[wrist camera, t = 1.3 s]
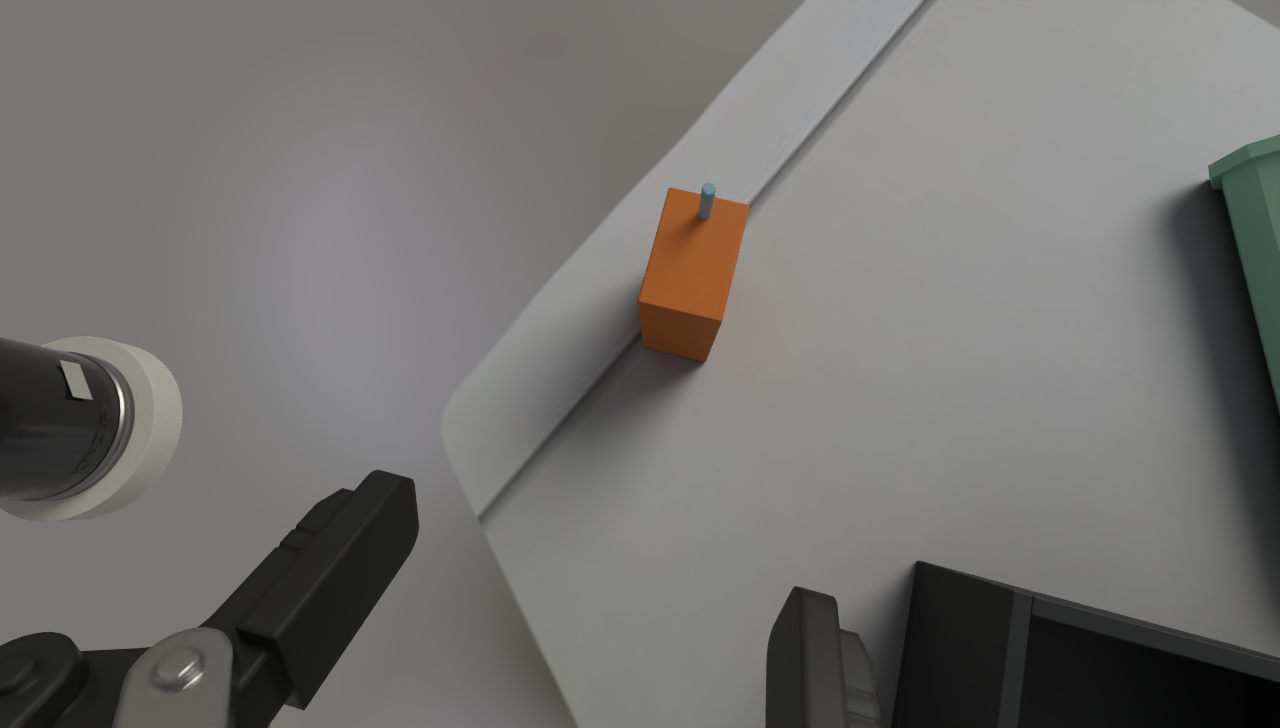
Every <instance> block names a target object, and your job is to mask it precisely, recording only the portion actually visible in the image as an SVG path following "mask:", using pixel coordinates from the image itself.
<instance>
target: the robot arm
mask: <svg viewBox="0 0 1280 728" xmlns="http://www.w3.org/2000/svg"><path fill="white" fill-rule="evenodd" d="M134 418H135V406H134V399H133V394H132V391H131V388H130V386H129V384H128V382H127V380H126V379H125V377H124V376H123V375H122V373H121V372H120V371H119V370H118V369H117V368H116V367H114V366H113V365H112V364H110V363H108V362H107V361H105V360H103V359H100V358H97V357H94V356H90V355H85V354H80V353H76V352H64V351H59V350H54V349H50V348H45V347H41V346H36V345H32V344H28V343H23V342H18V341H14V340H9V339H4V338H0V501H5V500H22V501H52V500H60V499H65V498H68V497H72V496H74V495H77V494H79V493H81V492H83V491H85V490H87V489H89V488H90V487H92V486H93V485H95V484H96V483H97V482H99V481H100V480H101V479H102V478H103V477H105V476H106V475H107V474H108V473H109V472H110V471H111V469H112V468H113V467H114V466H115V465H116V463H117V462H118V460H119V459H120V458H121V456H122V454H123V453H124V451H125V449H126V447H127V445H128V442H129V440H130V437H131V434H132V430H133V425H134ZM418 531H419V521H418V511H417V503H416V493H415V484H414V481H413V480H412V479H410V478H407V477H403V476H399V475H396V474H392V473H389V472H385V471H381V470H375V471H373V472H371V473H370V474H369V475H368V476H367V477H366V478H365V479H364V480H363V481H362V483H361V484H360V485H359V486H358V487H357V488H356V489H355V491H351V490H348V489H344V488H342V489H340V490H339V491H337V492H335V493H334V494H332V495H330V496H329V497H327V498H325V499H324V500H322V501H320V502H319V503H317V504H316V505H315V506H314V507H313V508H312V509H311V510H310V511H309V512H308V513H307V514H306V515H305V517H304V518H303V519H302V520H301V521H300V522H299V523H298V524H297V525H296V528H295V529H294V530H292V531H290V533H289V534H288V535H287V536H286V537H285V538H284V539H283V540H282V541H281V542H280V545H279V547H278V548H277V547H276V548H275V549H274V550H273V551H272V552H271V553H270V554H269V555H268V556H267V557H266V558H265V559H264V560H263V561H262V563H261V564H260V565H259V566H258V567H257V568H256V569H255V570H254V571H253V572H252V573H251V574H250V575H249V577H248V578H247V579H246V580H245V581H244V582H243V583H242V584H241V585H240V586H239V587H238V588H237V589H236V591H235V592H234V593H233V594H232V595H231V596H230V597H229V598H228V599H227V600H226V601H225V602H224V603H223V604H222V605H221V606H220V608H219V609H218V610H217V611H216V612H215V613H214V614H213V615H212V616H211V617H210V618H209V619H208V620H206V621H205V622H204V623H202V624H201V625H200V626H199V627H197V628H192V629H188V630H184V631H181V632H178V633H175V634H173V635H171V636H168V637H167V638H165V639H163V640H161V641H159V642H158V643H156V644H155V645H154V646H152V647H147V648H135V649H117V650H97V651H80V650H79V649H78V647H77V646H76V645H75V644H74V642H73V641H72V640H71V639H70V638H69V637H67V636H66V635H63V634H60V633H54V632H42V633H35V634H31V635H27V636H23V637H20V638H17V639H15V640H12V641H10V642H7V643H5V644H3V645H1V646H0V728H270V723H271V722H272V720H273V719H274V717H275V716H276V714H277V713H278V712H279V710H280V709H281V707H282V706H283V705H284V704H286V705H289V706H292V707H295V708H298V709H301V710H305V708H306V707H307V706H308V704H309V702H310V701H311V700H312V698H313V697H314V695H315V694H316V692H317V691H318V689H319V688H320V686H321V684H322V683H323V682H324V680H325V679H326V677H327V676H328V674H329V673H330V671H331V670H332V669H333V667H334V665H335V664H336V663H337V661H338V660H339V658H340V657H341V655H342V654H343V652H344V651H345V649H346V648H347V646H348V645H349V643H350V642H351V640H352V639H353V637H354V636H355V634H356V633H357V631H358V630H359V628H360V627H361V626H362V624H363V623H364V621H365V620H366V618H367V617H368V615H369V614H370V612H371V610H372V609H373V608H374V606H375V605H376V603H377V602H378V600H379V599H380V597H381V596H382V594H383V593H384V591H385V590H386V588H387V587H388V586H389V584H390V583H391V581H392V580H393V578H394V577H395V575H396V574H397V572H398V571H399V569H400V568H401V566H402V565H403V563H404V562H405V560H406V559H407V557H408V556H409V554H410V553H411V551H412V549H413V547H414V544H415V542H416V539H417V535H418ZM880 723H881V716H880V709H879V702H878V701H877V688H876V682H875V675H874V668H873V663H872V661H871V659H870V657H869V655H868V653H867V651H866V649H865V647H864V645H863V643H862V641H861V639H860V637H859V635H858V634H856V633H853V632H849V631H846V630H842V629H840V627H839V617H838V607H837V602H836V600H835V598H834V597H833V596H830V595H827V594H823V593H819V592H816V591H812V590H808V589H805V588H801V587H797V586H795V587H794V588H793V589H792V591H791V593H790V595H789V596H788V598H787V600H786V602H785V604H784V606H783V608H782V610H781V612H780V614H779V616H778V618H777V620H776V622H775V624H774V626H773V628H772V631H771V634H770V638H769V643H768V649H767V665H766V727H765V728H882V727H881V725H880Z"/></svg>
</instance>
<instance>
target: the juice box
mask: <svg viewBox="0 0 1280 728" xmlns="http://www.w3.org/2000/svg"><path fill="white" fill-rule="evenodd" d="M715 192H716V188H715V186H714V185H713V184H712V183H706V184H705V185H704V186H703V187H702V193H701V194H697V193H692V192H688V191H683V190H679V189H674V188H669V189H668V193H667V197H666V200H665V204H664V208H663V211H662V215H661V219H660V222H659V226H658V230H657V233H656V237H655V240H654V244H653V248H652V251H651V255H650V259H649V262H648V266H647V270H646V273H645V277H644V281H643V284H642V288H641V292H640V295H639V299H638V305H639V314H640V322H641V331H642V340H643V347H646V348H650V349H654V350H658V351H662V352H666V353H670V354H674V355H678V356H682V357H686V358H690V359H694V360H699V361H703V362H706V360H707V357H708V355H709V352H710V350H711V347H712V345H713V342H714V340H715V337H716V335H717V333H718V330H719V328H720V325H721V323H722V319H723V315H724V311H725V307H726V303H727V299H728V295H729V290H730V286H731V282H732V278H733V274H734V270H735V266H736V261H737V257H738V253H739V249H740V245H741V241H742V237H743V232H744V228H745V224H746V220H747V216H748V212H749V208H750V206H749V205H746V204H742V203H737V202H733V201H728V200H724V199H719V198H715Z"/></svg>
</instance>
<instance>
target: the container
mask: <svg viewBox="0 0 1280 728" xmlns="http://www.w3.org/2000/svg"><path fill="white" fill-rule="evenodd" d="M1208 168H1209V178H1210V182H1211V186H1212V190H1223V193H1224V197H1225V201H1226V205H1227V209H1228V213H1229V216H1230V220H1231V224H1232V228H1233V232H1234V236H1235V240H1236V244H1237V248H1238V252H1239V256H1240V260H1241V264H1242V268H1243V272H1244V276H1245V280H1246V284H1247V288H1248V292H1249V296H1250V300H1251V304H1252V308H1253V312H1254V315H1255V319H1256V323H1257V327H1258V331H1259V335H1260V339H1261V343H1262V347H1263V351H1264V355H1265V359H1266V363H1267V367H1268V371H1269V375H1270V379H1271V383H1272V387H1273V391H1274V395H1275V399H1276V403H1277V407H1278V410H1279V414H1280V135H1277V136H1274V137H1270V138H1267V139H1264V140H1261V141H1257V142H1254V143H1251V144H1247V145H1245V146H1243V147H1242V148H1240V149H1238V150H1236V151H1234V152H1233V153H1231V154H1229V155H1227V156H1225V157H1223V158H1222V159H1220V160H1218V161H1216V162H1214V163H1213V164H1211V165H1209V166H1208Z"/></svg>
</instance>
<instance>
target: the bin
mask: <svg viewBox="0 0 1280 728" xmlns="http://www.w3.org/2000/svg"><path fill="white" fill-rule="evenodd" d="M891 728H1280V658H1278V657H1274V656H1271V655H1267V654H1264V653H1260V652H1256V651H1253V650H1250V649H1246V648H1242V647H1239V646H1235V645H1231V644H1228V643H1224V642H1220V641H1216V640H1213V639H1209V638H1205V637H1202V636H1198V635H1194V634H1190V633H1187V632H1183V631H1179V630H1175V629H1172V628H1168V627H1164V626H1161V625H1157V624H1153V623H1149V622H1146V621H1142V620H1138V619H1134V618H1131V617H1127V616H1123V615H1120V614H1116V613H1112V612H1108V611H1105V610H1101V609H1097V608H1094V607H1090V606H1086V605H1082V604H1079V603H1075V602H1071V601H1067V600H1064V599H1060V598H1056V597H1053V596H1049V595H1045V594H1041V593H1038V592H1034V591H1030V590H1027V589H1023V588H1019V587H1015V586H1012V585H1008V584H1004V583H1000V582H997V581H993V580H989V579H986V578H982V577H978V576H974V575H971V574H967V573H963V572H959V571H956V570H952V569H948V568H945V567H941V566H937V565H933V564H930V563H926V562H922V561H917V566H916V572H915V579H914V585H913V592H912V598H911V604H910V611H909V617H908V624H907V630H906V636H905V643H904V649H903V656H902V662H901V668H900V675H899V681H898V688H897V694H896V700H895V707H894V713H893V720H892V726H891Z"/></svg>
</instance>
